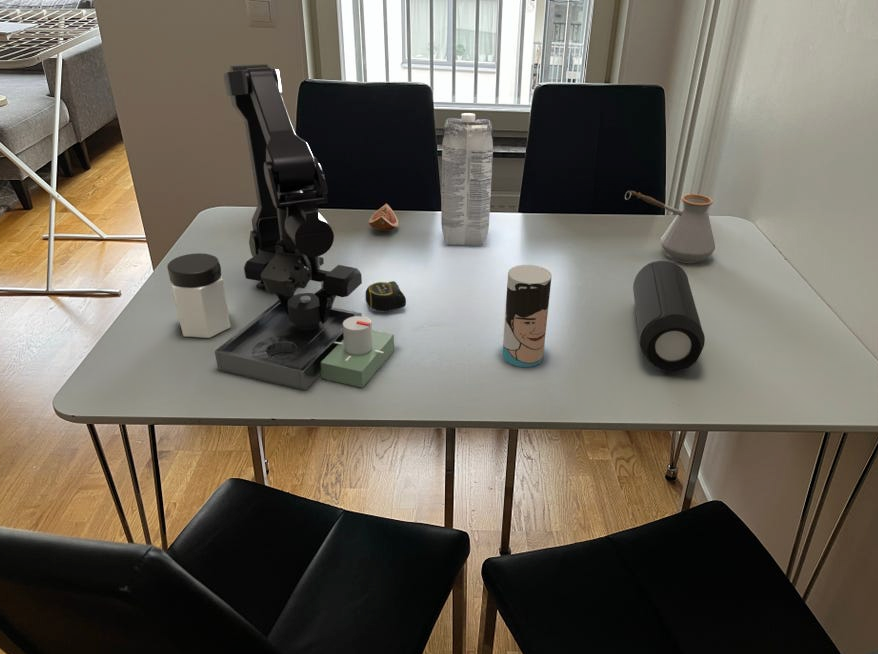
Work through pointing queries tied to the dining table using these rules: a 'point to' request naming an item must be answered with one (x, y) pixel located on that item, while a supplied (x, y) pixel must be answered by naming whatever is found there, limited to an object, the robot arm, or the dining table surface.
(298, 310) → the stopper
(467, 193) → the juice carton
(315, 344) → the sink
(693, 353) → the portable speaker
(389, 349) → the panel
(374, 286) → the tape measure
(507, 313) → the cup
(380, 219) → the fruit slice
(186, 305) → the jar
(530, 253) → the dining table surface
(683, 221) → the coffee pot
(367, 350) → the tap knob
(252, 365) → the grey metal tray
